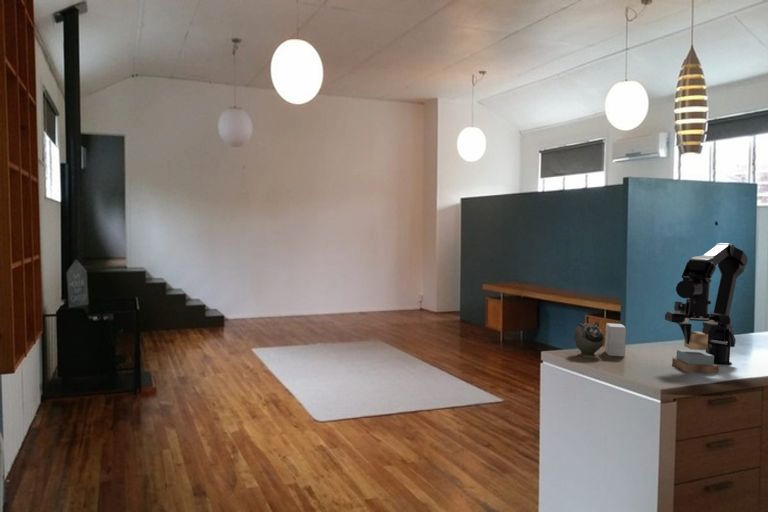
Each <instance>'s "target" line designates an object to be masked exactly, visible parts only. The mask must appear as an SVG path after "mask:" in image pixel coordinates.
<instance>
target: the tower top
mask: <svg viewBox="0 0 768 512" xmlns="http://www.w3.org/2000/svg"><path fill="white" fill-rule="evenodd" d="M675 358H676V359H678V360H681V361H683V362H685V363H687V364H697V365H714V356H713V355H711V354H708V353H706V351H704V350H694V349H676V357H675Z"/></svg>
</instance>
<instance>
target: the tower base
mask: <svg viewBox="0 0 768 512" xmlns="http://www.w3.org/2000/svg"><path fill="white" fill-rule="evenodd" d="M671 360H672V363H671V366H673V367H675V368H677V367H678V368H677V369H679V368H680V370H681V369H682V370H681V371H683V372H684V373H691V372H695V373H694V374H715V375H716V374H717V375H719V365H717V364H714V365H697V364H687V363H685V362H683V361H681V360H678V359H676V357H672V359H671Z"/></svg>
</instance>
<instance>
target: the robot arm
mask: <svg viewBox="0 0 768 512" xmlns="http://www.w3.org/2000/svg"><path fill="white" fill-rule="evenodd" d="M747 265H748V255H747V254H746V253H745V252H744V251H743V250H741V249H739V248H737V247H736V246H735V245H734V244H733V243H729V242H728V243H727V242H718V243H716V244H715V245H714V247H712V248H711V249H710V250H708V251H706V253H704V254H702V255H697V256H693V257H690V258H689V260H688V261H687V262H686V265H685V267H684V269H683V272H682V275H681V279H682V280H681V281H679V282H678V283H677V284H676V287H675V292H676V293H677V295H678V297H680V298H682V299H686V301H685V302H684V303H683V301H675V302H674V304H673V305H674V309H673V310H674V311H667V312H665V314H664V320H665V321H668V322H670V323H675V324H677V325H679V327H680V329H681V332H682V334H683V338H684V340H685V341H686V344H689V341H690V334H691V331H692V324H691V323H690V321H694V322H695V321H696V322H699V321H700V322H702V326H703V327H702V333H705V334H708V347H707V350H705V352H706V353H708V354H711V355H713V356H714V364H715V365H717V364H719V365H733V363H732V361H730V358H731V357H730V356H731V348H735V347H736V337H735V335H734V332H733V325H732V319H731V317H730V312H731V307H732V302H733V298H734V292H735V289H736V283H737V279H738V277H739V276H740V275H742V274H743V273H744V271H745V268H746V266H747ZM716 266H717V267H718V269H719V272H720V274H721V275H720V281H719V285H718V289H717V294H716V299H715V304H714V308H713V312H710V313H709V305H711V303H712V302H711V300H709V299H710V298H709V297H710V286H711V285H710V284H711V283H712V280H711V279H712V277H713V276H714V273H715V272H716V270H717V267H716Z"/></svg>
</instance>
